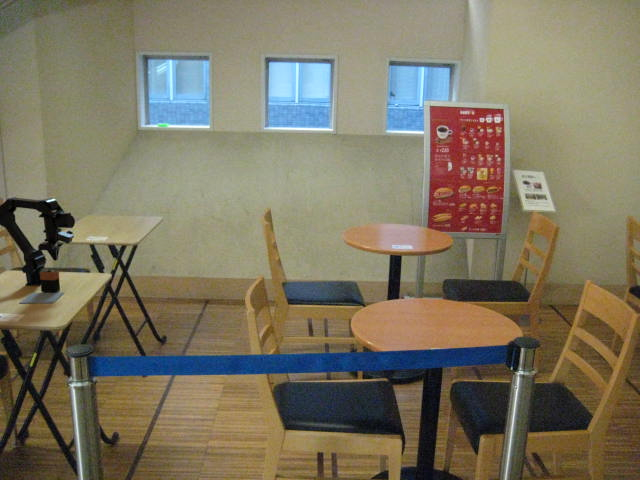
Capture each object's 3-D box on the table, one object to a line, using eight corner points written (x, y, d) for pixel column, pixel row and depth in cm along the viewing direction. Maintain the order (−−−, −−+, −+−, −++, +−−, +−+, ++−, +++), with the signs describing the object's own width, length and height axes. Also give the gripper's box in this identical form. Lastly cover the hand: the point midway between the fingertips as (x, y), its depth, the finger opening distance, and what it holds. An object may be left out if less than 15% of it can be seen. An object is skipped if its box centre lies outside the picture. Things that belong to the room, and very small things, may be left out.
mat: (19, 303, 244) (19, 302, 244) (32, 293, 256) (32, 293, 256) (53, 303, 245) (52, 302, 245) (64, 293, 256) (64, 292, 256)
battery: (47, 289, 261) (45, 267, 260) (60, 290, 260) (59, 268, 258) (40, 291, 257) (39, 269, 256) (53, 293, 256) (52, 270, 254)
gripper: (61, 231, 252) (65, 266, 256) (77, 222, 270) (81, 254, 274) (35, 232, 251) (40, 266, 255) (53, 222, 269) (57, 254, 273)
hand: (55, 260), depth 264 cm, fingers closed
